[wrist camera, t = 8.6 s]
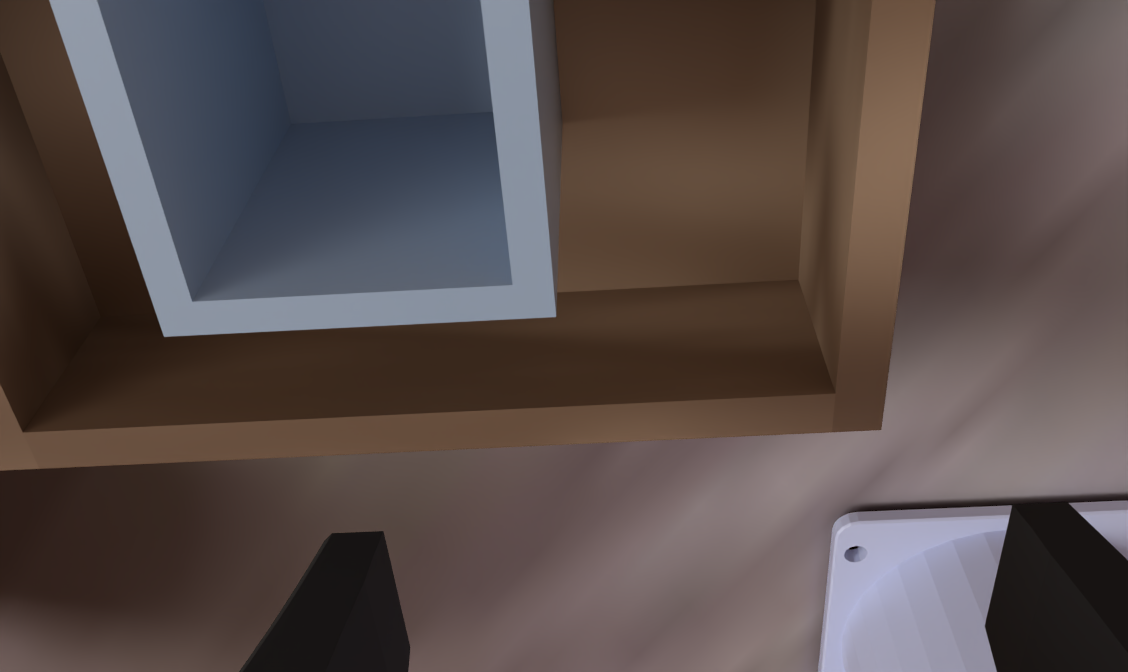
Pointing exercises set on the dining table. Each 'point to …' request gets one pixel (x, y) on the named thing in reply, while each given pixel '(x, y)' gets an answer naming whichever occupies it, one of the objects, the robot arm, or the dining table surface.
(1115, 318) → the dining table surface
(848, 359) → the big crate
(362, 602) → the robot arm
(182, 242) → the box
